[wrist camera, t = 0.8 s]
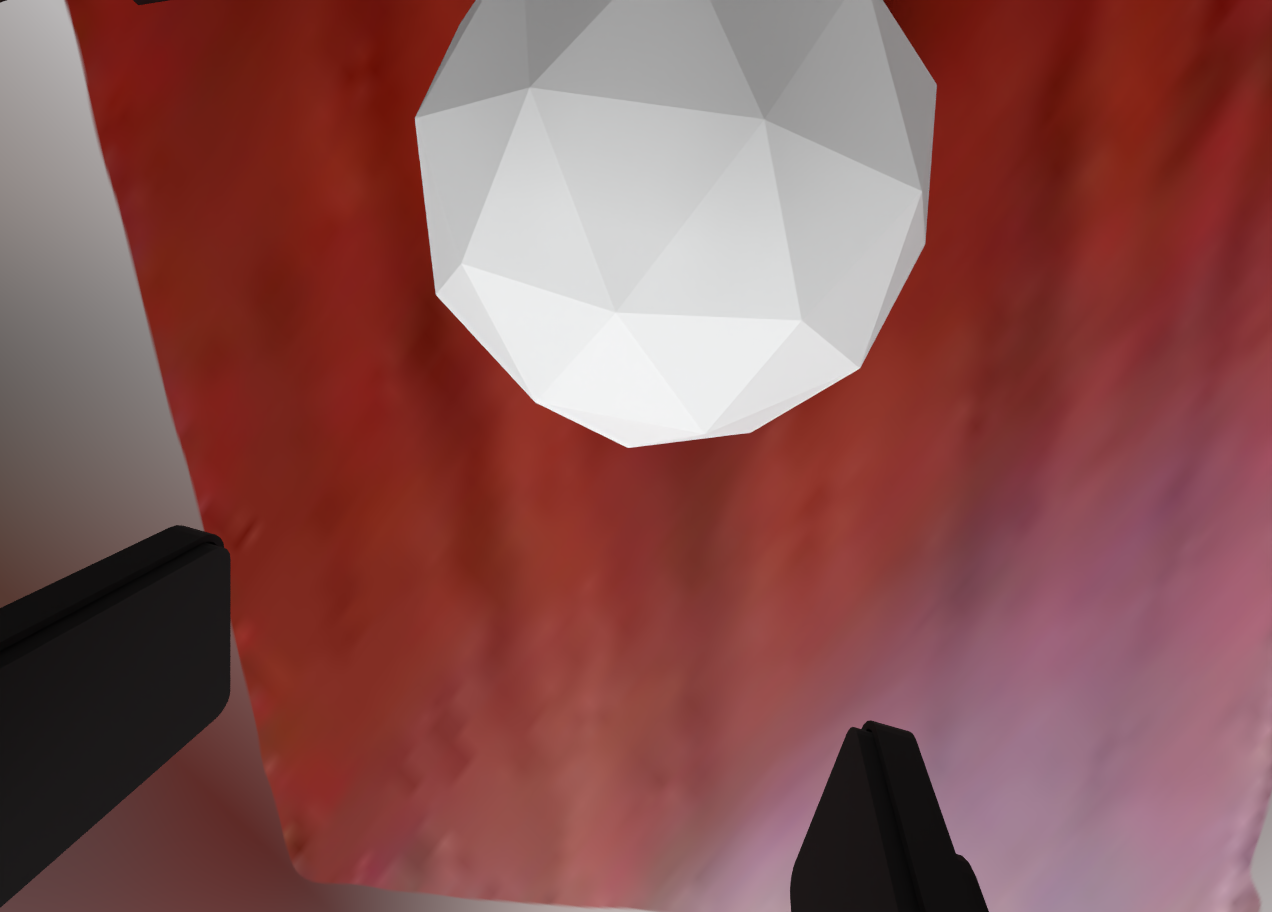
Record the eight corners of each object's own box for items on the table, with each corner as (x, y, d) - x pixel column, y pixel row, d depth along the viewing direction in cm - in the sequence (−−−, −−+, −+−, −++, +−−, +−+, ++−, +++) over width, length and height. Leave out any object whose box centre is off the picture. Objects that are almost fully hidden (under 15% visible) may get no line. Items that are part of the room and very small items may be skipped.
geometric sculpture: (780, 241, 41) (1024, 424, 27) (482, 358, 39) (574, 626, 24) (756, -168, 28) (1216, -240, 13) (302, -24, 25) (272, 73, 11)
